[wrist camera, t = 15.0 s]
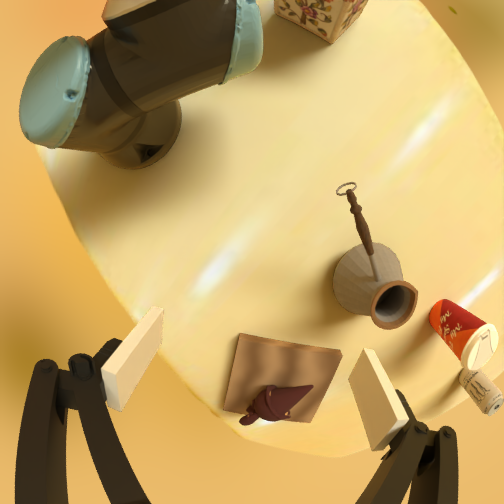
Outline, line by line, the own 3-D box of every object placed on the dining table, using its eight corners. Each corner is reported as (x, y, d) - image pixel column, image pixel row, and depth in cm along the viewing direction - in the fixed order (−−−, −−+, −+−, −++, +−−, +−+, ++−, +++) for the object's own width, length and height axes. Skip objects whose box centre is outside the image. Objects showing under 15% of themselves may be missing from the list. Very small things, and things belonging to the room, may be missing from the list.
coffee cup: (421, 304, 41) (466, 344, 27) (454, 286, 40) (502, 318, 26) (425, 339, 43) (463, 382, 28) (456, 321, 42) (498, 357, 27)
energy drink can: (466, 360, 44) (498, 396, 29) (478, 362, 44) (509, 395, 29) (453, 381, 45) (481, 418, 31) (466, 382, 45) (493, 416, 31)
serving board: (224, 403, 49) (223, 410, 47) (240, 332, 45) (238, 338, 43) (309, 416, 49) (310, 422, 47) (340, 350, 44) (342, 356, 42)
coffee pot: (402, 285, 41) (448, 324, 26) (345, 318, 43) (373, 371, 28) (351, 168, 38) (393, 159, 23) (285, 204, 39) (295, 213, 25)
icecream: (298, 380, 37) (224, 412, 41) (323, 412, 36) (249, 440, 40) (303, 360, 43) (238, 392, 47) (325, 390, 42) (259, 418, 47)
